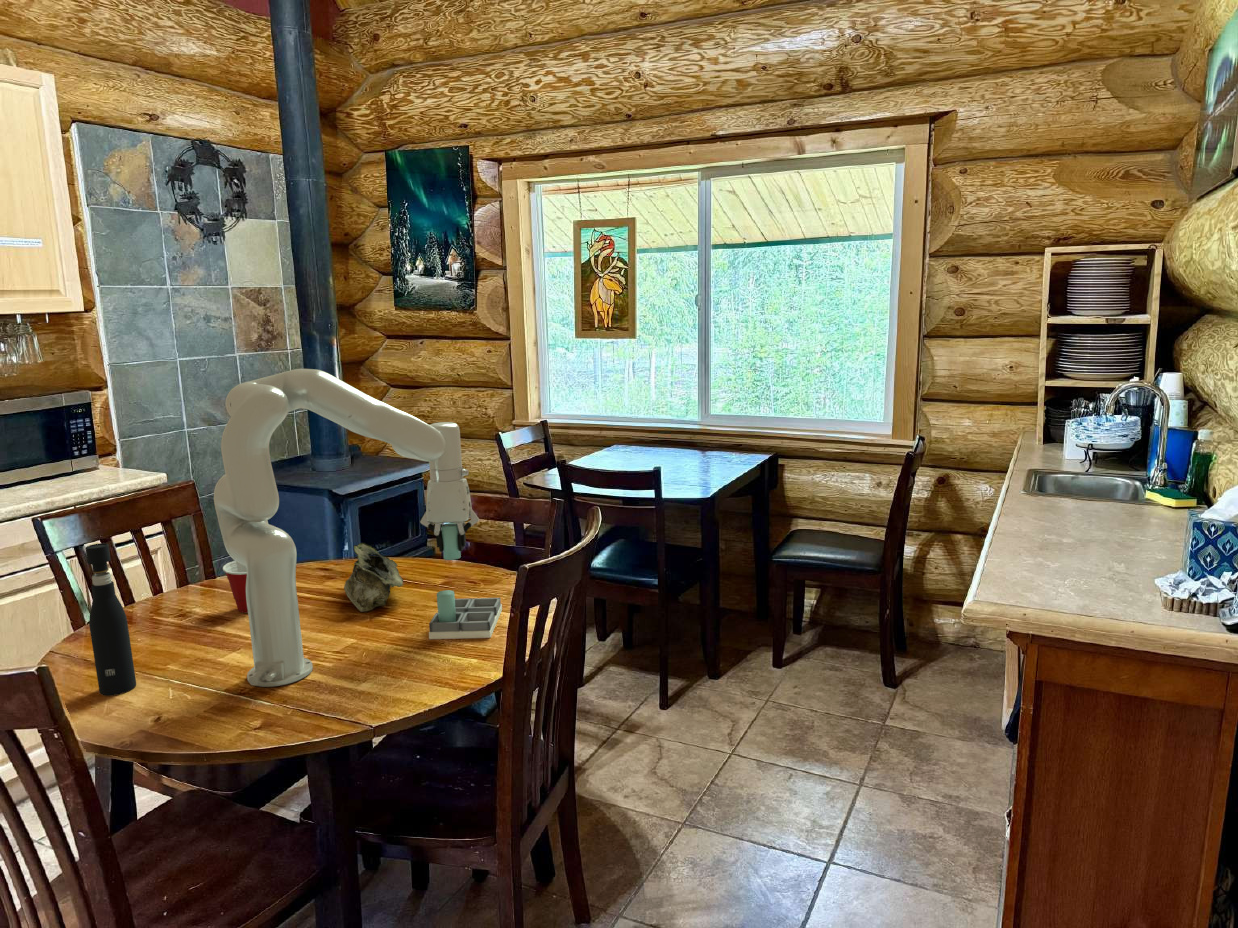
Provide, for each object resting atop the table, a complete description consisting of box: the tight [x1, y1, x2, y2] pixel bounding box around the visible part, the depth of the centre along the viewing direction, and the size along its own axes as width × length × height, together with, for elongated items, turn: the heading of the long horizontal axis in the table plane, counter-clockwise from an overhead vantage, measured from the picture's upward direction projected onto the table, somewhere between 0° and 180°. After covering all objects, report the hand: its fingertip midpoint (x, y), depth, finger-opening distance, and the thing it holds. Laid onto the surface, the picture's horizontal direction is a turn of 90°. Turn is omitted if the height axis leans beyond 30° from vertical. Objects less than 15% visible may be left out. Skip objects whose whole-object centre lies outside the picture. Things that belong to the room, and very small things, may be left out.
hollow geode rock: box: [343, 542, 404, 613], centre depth 218 cm, size 28×13×15 cm
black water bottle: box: [84, 542, 137, 697], centre depth 165 cm, size 6×6×30 cm
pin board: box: [428, 589, 503, 640], centre depth 196 cm, size 18×14×10 cm
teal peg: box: [442, 523, 462, 561], centre depth 198 cm, size 4×4×8 cm
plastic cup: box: [222, 560, 248, 614], centre depth 211 cm, size 11×11×12 cm
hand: (451, 549), depth 199 cm, fingers closed on teal peg, 4 cm apart
